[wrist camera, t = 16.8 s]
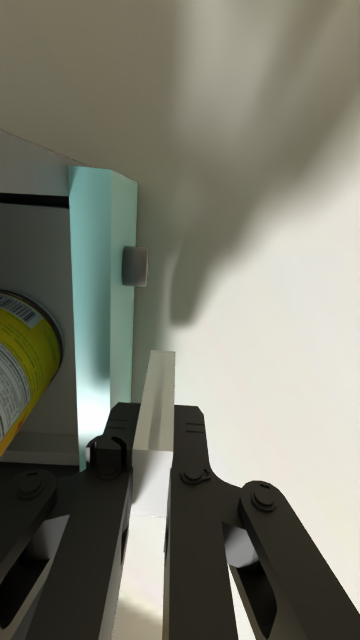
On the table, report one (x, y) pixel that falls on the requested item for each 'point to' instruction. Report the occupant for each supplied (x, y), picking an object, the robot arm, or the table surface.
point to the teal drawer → (77, 306)
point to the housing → (40, 188)
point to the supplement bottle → (25, 359)
